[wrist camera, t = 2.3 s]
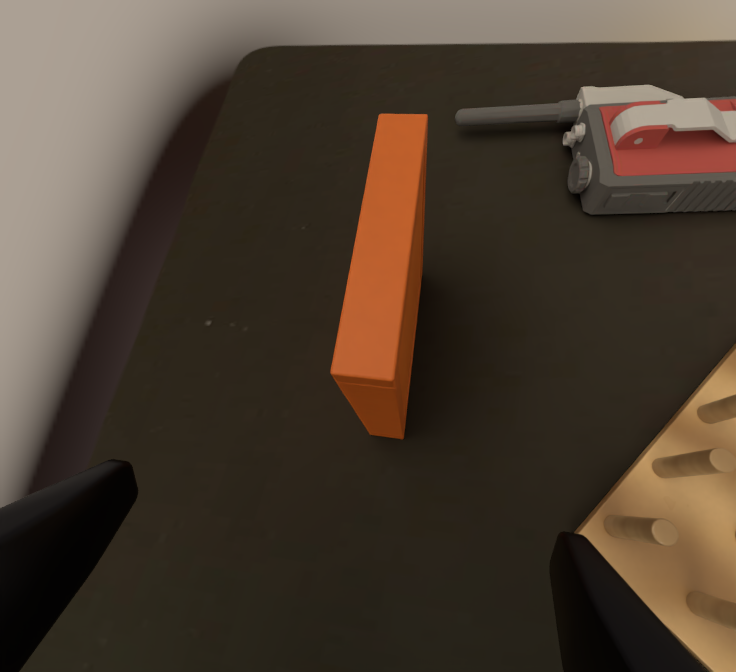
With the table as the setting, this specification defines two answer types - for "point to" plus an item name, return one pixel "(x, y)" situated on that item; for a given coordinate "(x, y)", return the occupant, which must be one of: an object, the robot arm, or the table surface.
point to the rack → (682, 522)
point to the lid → (385, 279)
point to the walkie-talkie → (639, 147)
